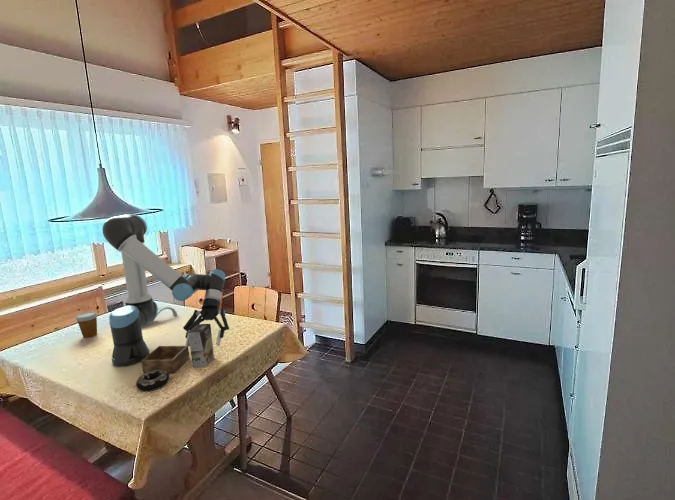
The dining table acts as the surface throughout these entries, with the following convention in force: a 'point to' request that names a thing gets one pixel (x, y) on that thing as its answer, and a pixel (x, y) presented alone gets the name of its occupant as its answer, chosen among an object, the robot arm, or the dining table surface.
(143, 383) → the donut
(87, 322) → the disposable coffee cup
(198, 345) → the coffee box
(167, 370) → the open wooden box
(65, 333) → the dining table surface
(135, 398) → the dining table surface
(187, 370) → the dining table surface
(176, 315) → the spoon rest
